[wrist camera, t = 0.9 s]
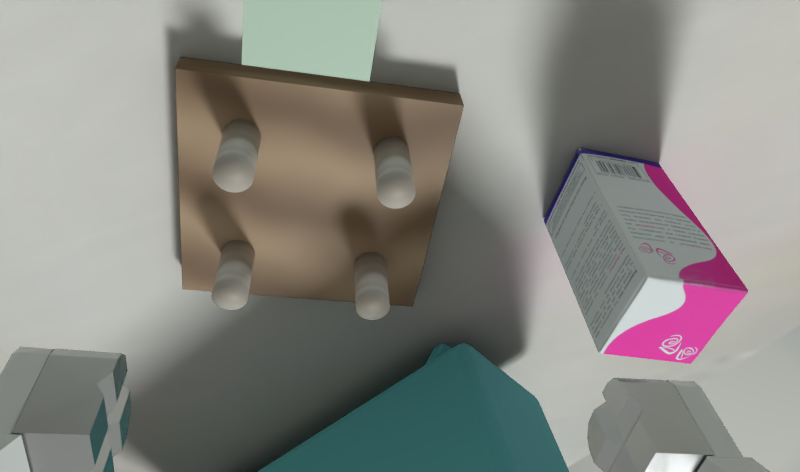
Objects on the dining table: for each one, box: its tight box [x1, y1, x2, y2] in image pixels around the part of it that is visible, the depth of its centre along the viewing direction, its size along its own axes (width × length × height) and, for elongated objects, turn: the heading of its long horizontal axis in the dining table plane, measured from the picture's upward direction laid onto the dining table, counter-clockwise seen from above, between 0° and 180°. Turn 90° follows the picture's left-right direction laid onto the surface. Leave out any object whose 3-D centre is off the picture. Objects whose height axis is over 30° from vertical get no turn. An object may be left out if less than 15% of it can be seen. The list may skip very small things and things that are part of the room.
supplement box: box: [544, 148, 748, 364], centre depth 37 cm, size 6×6×12 cm
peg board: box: [175, 57, 464, 320], centre depth 38 cm, size 15×15×6 cm
